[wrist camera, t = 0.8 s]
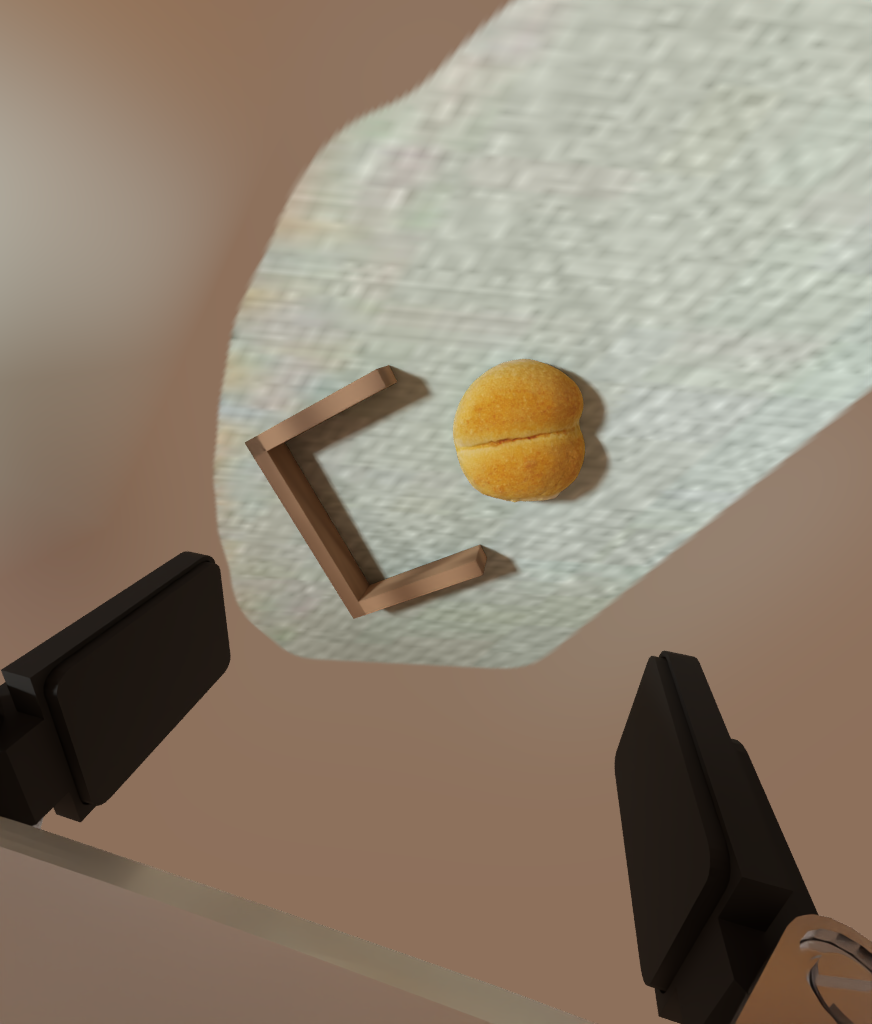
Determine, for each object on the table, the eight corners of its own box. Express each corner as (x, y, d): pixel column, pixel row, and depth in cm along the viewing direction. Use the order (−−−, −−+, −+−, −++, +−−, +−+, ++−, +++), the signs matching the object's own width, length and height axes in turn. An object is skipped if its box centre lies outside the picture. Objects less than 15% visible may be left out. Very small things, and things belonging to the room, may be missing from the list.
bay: (388, 365, 31) (376, 369, 29) (487, 558, 35) (482, 574, 33) (263, 434, 35) (244, 442, 33) (364, 601, 39) (353, 618, 37)
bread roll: (579, 348, 29) (584, 353, 25) (584, 487, 32) (590, 509, 28) (447, 367, 31) (434, 374, 27) (465, 496, 34) (455, 518, 30)
